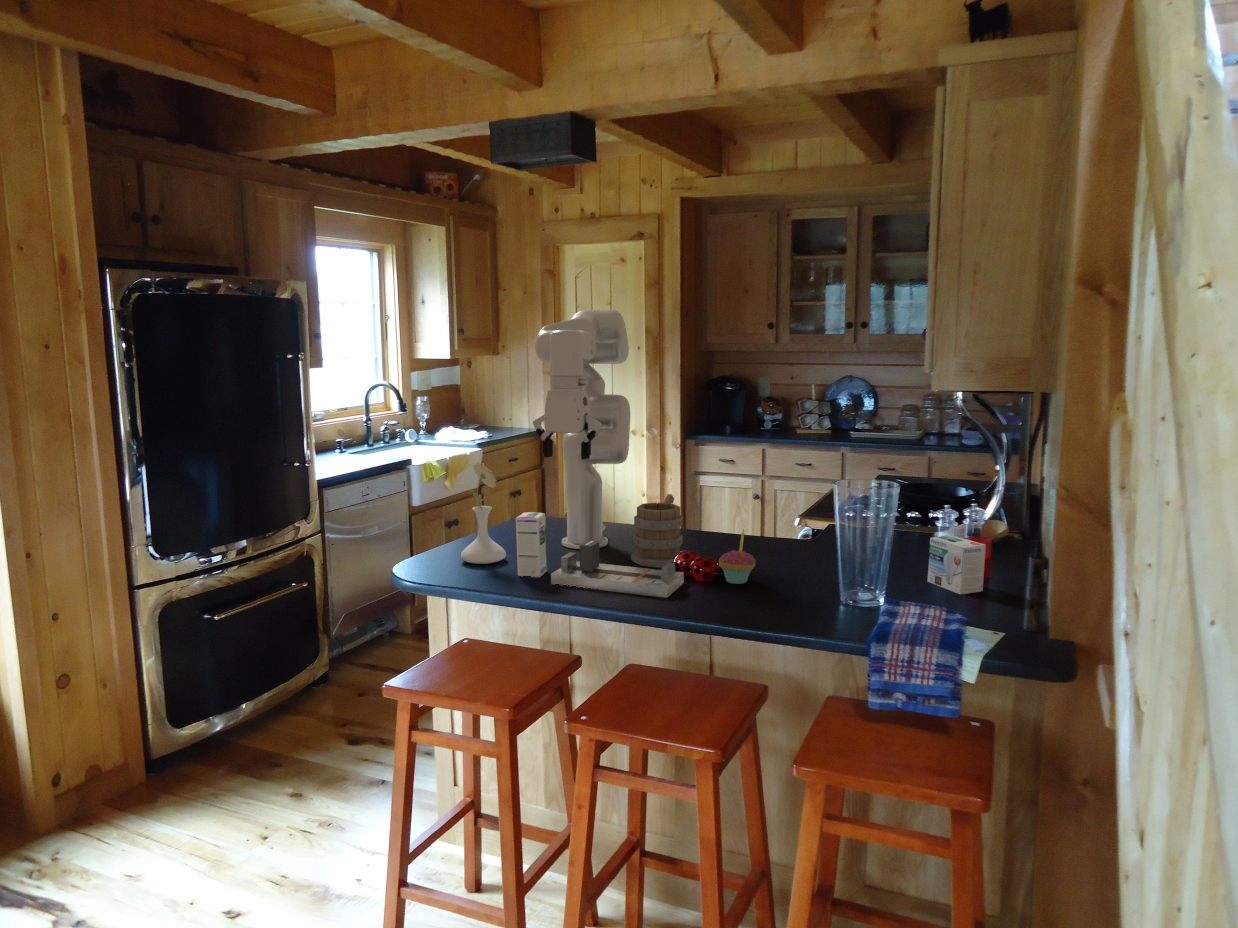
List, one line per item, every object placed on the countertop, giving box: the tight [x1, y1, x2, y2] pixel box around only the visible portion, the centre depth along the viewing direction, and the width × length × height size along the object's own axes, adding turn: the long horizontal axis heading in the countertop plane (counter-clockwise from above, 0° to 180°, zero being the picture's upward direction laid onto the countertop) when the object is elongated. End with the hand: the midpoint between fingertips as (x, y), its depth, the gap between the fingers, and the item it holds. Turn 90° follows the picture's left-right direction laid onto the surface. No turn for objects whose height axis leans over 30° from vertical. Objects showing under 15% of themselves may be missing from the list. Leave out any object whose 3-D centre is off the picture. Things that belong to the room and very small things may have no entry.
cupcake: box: [718, 529, 756, 585], centre depth 202 cm, size 9×8×12 cm
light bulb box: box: [927, 534, 987, 595], centre depth 198 cm, size 11×7×11 cm, turn 23°
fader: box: [579, 541, 600, 572], centre depth 203 cm, size 4×3×6 cm
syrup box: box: [515, 511, 548, 578], centre depth 208 cm, size 6×6×14 cm
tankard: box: [630, 493, 684, 569], centre depth 223 cm, size 20×13×15 cm, turn 160°
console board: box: [550, 552, 685, 599], centre depth 201 cm, size 12×28×6 cm, turn 68°
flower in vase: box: [460, 461, 507, 565], centre depth 219 cm, size 13×11×25 cm
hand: (566, 457), depth 204 cm, fingers open, 9 cm apart
